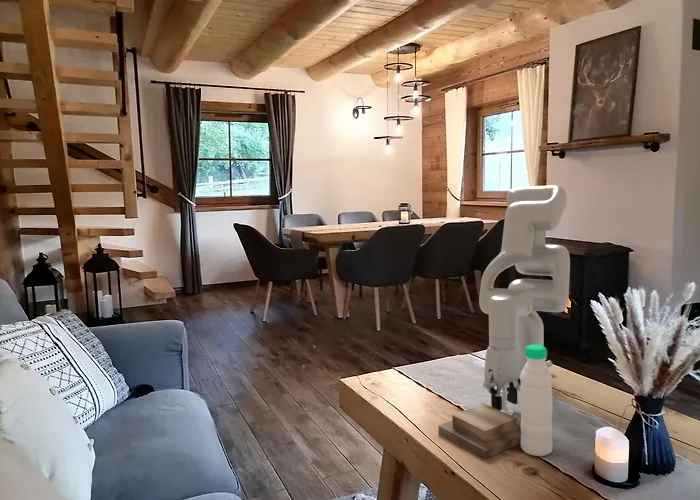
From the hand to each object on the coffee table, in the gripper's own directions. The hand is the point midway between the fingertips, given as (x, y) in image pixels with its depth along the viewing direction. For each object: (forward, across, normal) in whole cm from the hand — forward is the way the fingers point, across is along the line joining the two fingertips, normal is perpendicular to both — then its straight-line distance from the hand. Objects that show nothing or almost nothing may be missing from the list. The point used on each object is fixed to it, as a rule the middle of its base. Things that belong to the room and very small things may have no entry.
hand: (504, 404), depth 145 cm
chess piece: (+2, 0, 0) cm, 2 cm away
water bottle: (+2, +10, +18) cm, 21 cm away
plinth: (+2, +14, +6) cm, 15 cm away
